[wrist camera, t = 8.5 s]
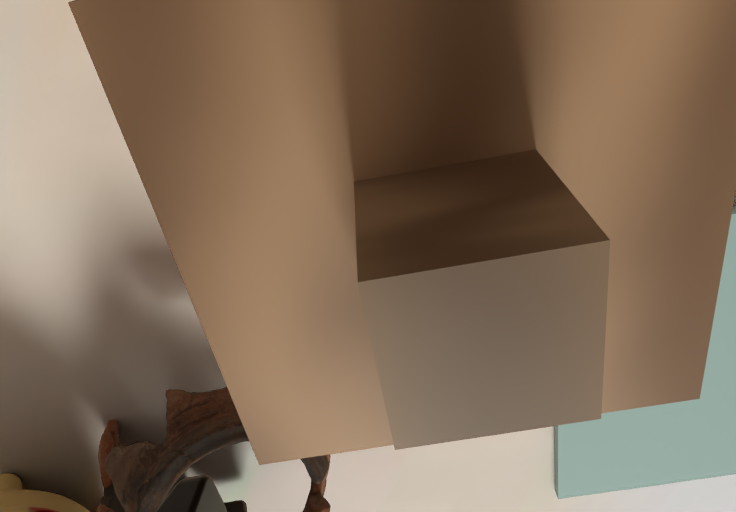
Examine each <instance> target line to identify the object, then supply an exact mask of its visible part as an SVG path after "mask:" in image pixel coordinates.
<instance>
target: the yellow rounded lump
mask: <svg viewBox="0 0 736 512" xmlns="http://www.w3.org/2000/svg"><path fill="white" fill-rule="evenodd" d="M0 512H90V511H89V510H87V509H86V508H85V507H83V506H82V505H80V504H78V503H77V502H75V501H73V500H71V499H69V498H66V497H64V496H61V495H58V494H54V493H50V492H45V491H38V490H23V487H22V483H21V480H20V479H19V477H17V476H16V475H14V474H10V473H5V474H1V475H0Z"/></svg>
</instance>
